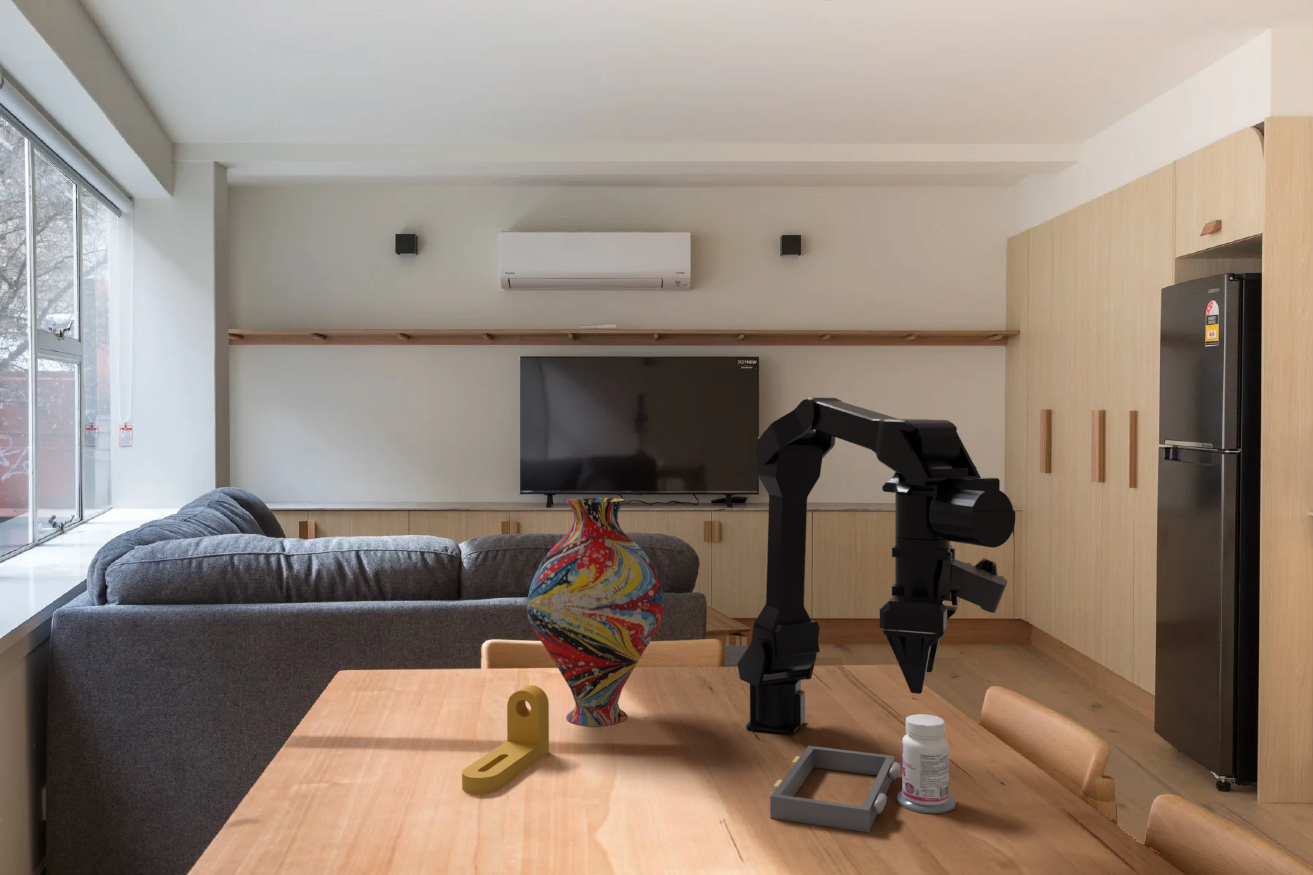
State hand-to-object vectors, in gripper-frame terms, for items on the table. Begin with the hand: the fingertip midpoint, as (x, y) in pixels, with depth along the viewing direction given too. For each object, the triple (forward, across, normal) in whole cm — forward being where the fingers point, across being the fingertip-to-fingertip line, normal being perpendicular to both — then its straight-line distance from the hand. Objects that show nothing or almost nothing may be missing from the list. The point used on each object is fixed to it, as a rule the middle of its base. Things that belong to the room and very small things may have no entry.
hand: (922, 681), depth 105 cm
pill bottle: (+12, -1, 0) cm, 12 cm away
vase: (+13, +14, +45) cm, 49 cm away
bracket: (+13, -9, +46) cm, 49 cm away
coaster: (+12, -1, -1) cm, 13 cm away
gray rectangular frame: (+13, -3, +9) cm, 16 cm away
